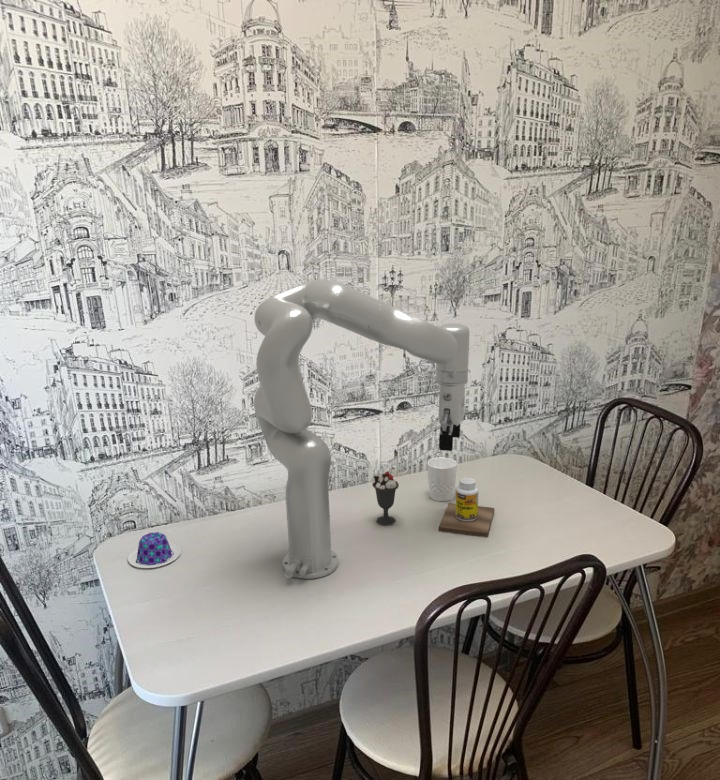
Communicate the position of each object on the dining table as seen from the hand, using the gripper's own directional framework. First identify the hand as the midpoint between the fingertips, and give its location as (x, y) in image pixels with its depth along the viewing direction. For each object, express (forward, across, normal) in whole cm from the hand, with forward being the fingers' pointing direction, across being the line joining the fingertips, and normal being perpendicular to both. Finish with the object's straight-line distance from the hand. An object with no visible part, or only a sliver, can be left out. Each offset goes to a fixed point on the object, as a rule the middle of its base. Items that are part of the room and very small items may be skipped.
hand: (449, 443), depth 167 cm
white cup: (+21, +15, +4) cm, 26 cm away
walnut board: (+21, +2, -5) cm, 22 cm away
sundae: (+22, -3, +15) cm, 27 cm away
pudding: (+23, -35, +63) cm, 75 cm away
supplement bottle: (+20, +2, -5) cm, 21 cm away
